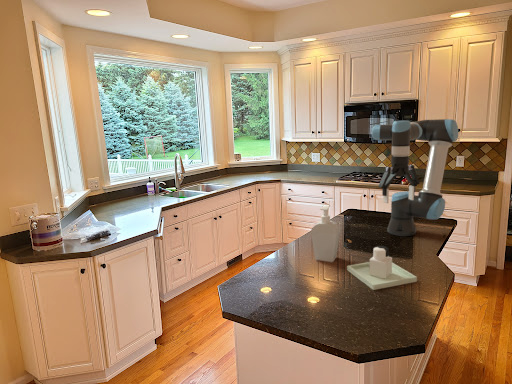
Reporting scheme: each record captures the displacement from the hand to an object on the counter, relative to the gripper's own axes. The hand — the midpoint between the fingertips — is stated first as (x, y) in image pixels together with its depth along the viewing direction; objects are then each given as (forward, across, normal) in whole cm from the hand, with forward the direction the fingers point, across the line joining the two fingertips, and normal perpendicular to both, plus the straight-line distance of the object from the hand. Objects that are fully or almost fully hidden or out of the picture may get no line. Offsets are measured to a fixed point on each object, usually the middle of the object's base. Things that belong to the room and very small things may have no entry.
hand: (398, 201), depth 167 cm
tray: (+27, +20, +16) cm, 37 cm away
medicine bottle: (+26, +20, +16) cm, 37 cm away
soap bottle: (+27, +32, -10) cm, 43 cm away
